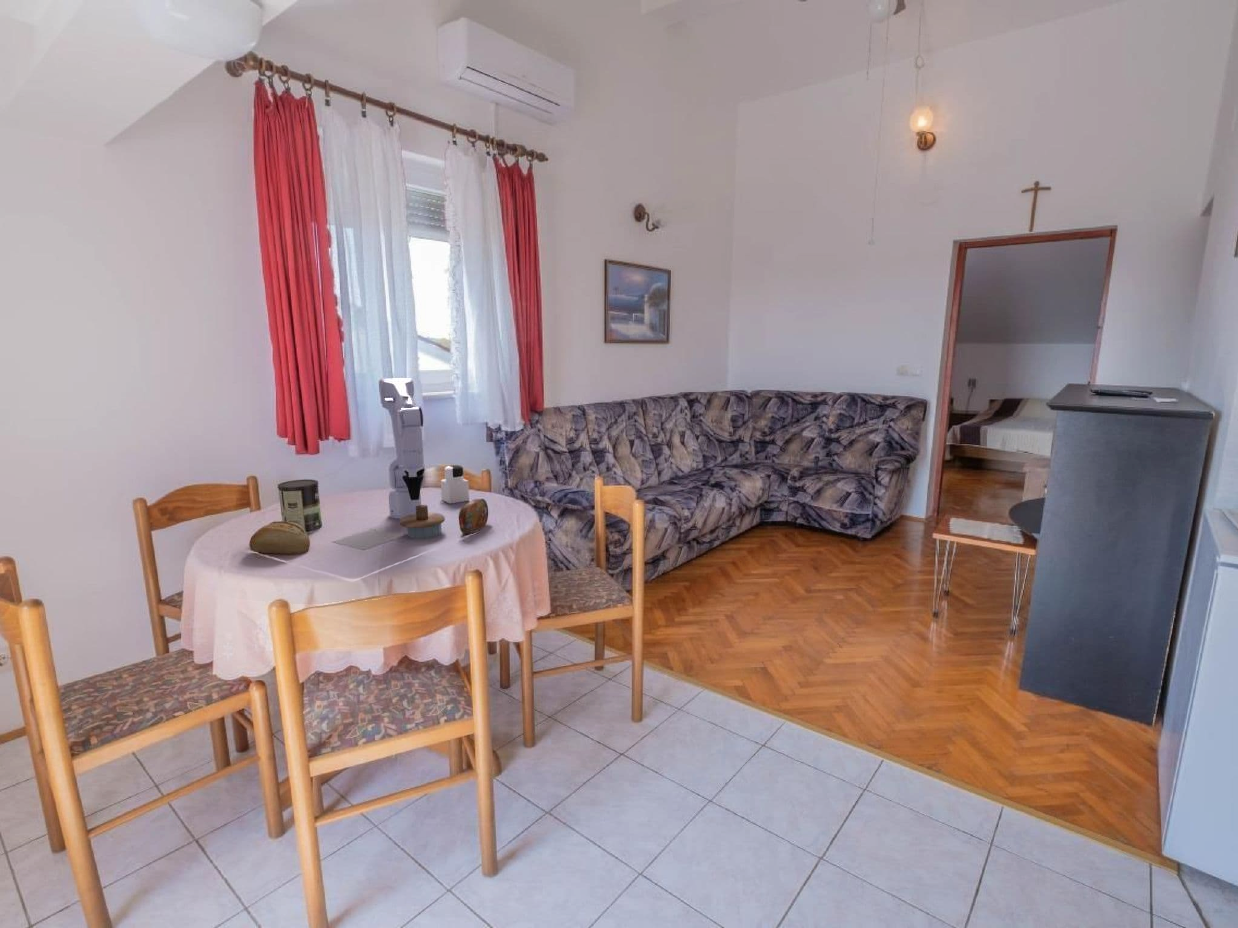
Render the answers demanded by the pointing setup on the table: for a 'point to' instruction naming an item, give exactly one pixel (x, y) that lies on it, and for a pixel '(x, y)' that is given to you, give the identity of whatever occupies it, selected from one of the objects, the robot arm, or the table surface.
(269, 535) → the bread roll
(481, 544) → the table surface
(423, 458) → the robot arm
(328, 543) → the table surface
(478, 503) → the tin
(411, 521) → the lid
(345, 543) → the mat
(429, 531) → the bowl
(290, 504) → the coffee can
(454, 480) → the medicine bottle
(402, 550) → the table surface
